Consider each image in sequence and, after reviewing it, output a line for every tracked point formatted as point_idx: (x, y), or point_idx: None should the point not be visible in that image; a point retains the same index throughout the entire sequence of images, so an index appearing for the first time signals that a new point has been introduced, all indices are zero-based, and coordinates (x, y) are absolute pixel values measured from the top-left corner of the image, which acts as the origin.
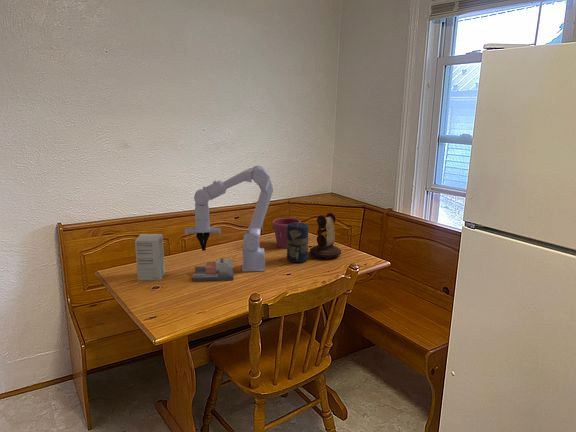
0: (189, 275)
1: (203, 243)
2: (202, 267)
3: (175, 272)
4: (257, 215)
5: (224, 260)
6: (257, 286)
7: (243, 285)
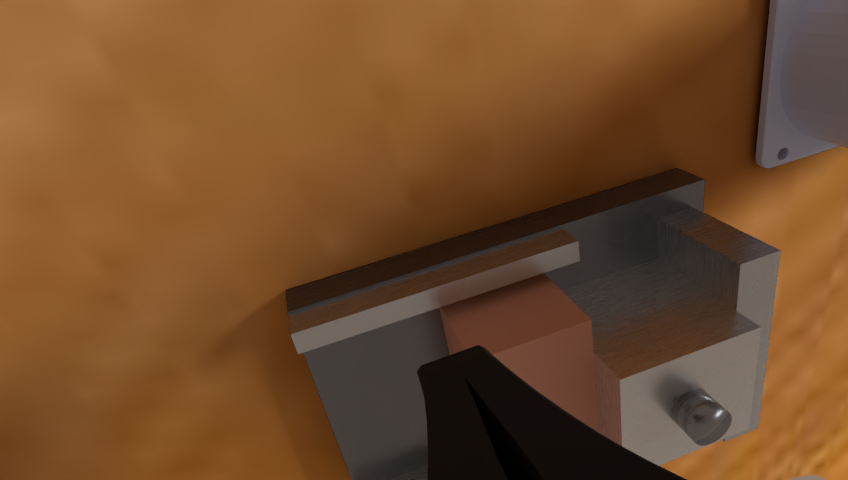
0: (256, 379)
1: (490, 449)
2: (386, 318)
3: (27, 354)
4: None
5: (715, 381)
6: (814, 396)
7: None
